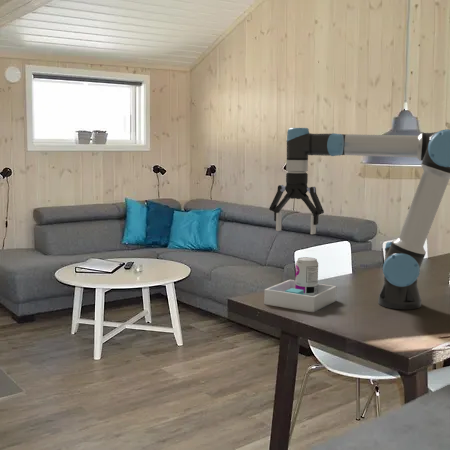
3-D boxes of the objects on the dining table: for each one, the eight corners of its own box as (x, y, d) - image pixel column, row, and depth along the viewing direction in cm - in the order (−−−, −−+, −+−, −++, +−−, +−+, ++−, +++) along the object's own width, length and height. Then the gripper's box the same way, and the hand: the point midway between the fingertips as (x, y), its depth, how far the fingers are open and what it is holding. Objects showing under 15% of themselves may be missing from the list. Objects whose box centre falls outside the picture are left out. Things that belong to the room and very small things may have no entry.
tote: (336, 300, 235) (336, 286, 235) (313, 312, 219) (314, 297, 218) (289, 293, 246) (289, 279, 245) (264, 304, 230) (264, 289, 229)
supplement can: (294, 300, 232) (295, 260, 230) (296, 295, 240) (297, 256, 238) (316, 302, 231) (317, 261, 229) (317, 296, 239) (318, 257, 237)
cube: (297, 306, 225) (297, 292, 224) (284, 304, 227) (285, 290, 227) (303, 303, 229) (303, 289, 228) (290, 301, 231) (291, 288, 231)
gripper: (334, 173, 218) (332, 234, 221) (270, 170, 231) (269, 228, 234) (325, 174, 211) (323, 236, 214) (260, 171, 225) (259, 230, 228)
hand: (295, 232), depth 224 cm, fingers open, 13 cm apart
